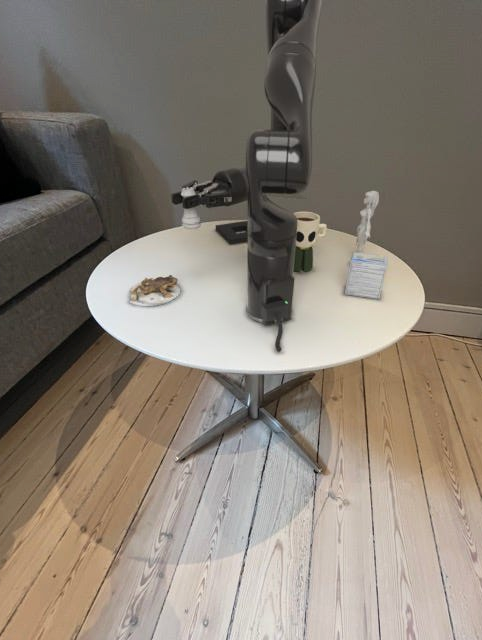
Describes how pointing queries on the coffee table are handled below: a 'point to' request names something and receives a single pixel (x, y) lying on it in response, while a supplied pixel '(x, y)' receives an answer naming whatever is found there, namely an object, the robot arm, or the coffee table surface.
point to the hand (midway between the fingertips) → (178, 201)
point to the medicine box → (366, 275)
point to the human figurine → (366, 213)
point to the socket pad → (233, 232)
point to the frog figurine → (154, 291)
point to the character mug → (307, 239)
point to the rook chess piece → (190, 212)
